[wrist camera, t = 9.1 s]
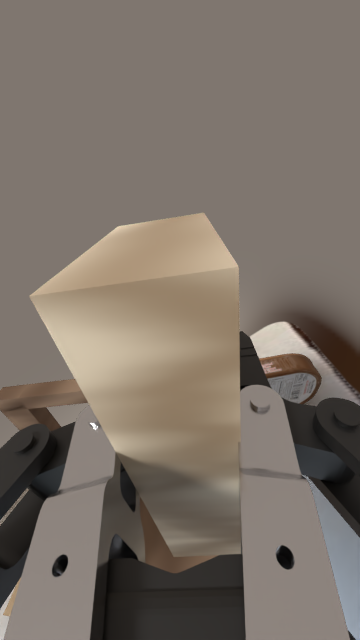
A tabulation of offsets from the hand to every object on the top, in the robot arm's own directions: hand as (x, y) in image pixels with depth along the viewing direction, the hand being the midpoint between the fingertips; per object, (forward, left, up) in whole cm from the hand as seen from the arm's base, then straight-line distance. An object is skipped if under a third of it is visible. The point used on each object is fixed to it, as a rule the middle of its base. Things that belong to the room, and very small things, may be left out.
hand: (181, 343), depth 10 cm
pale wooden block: (0, -3, -8) cm, 8 cm away
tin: (+7, +11, -22) cm, 26 cm away
